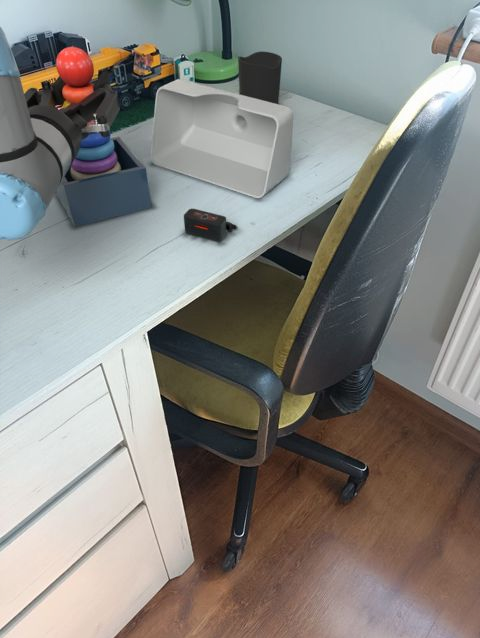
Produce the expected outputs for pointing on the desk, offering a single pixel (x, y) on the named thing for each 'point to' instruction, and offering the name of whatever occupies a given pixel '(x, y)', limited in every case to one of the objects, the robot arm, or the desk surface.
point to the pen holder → (260, 76)
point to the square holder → (107, 190)
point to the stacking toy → (77, 75)
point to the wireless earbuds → (207, 225)
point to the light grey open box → (222, 137)
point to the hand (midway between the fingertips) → (87, 80)
